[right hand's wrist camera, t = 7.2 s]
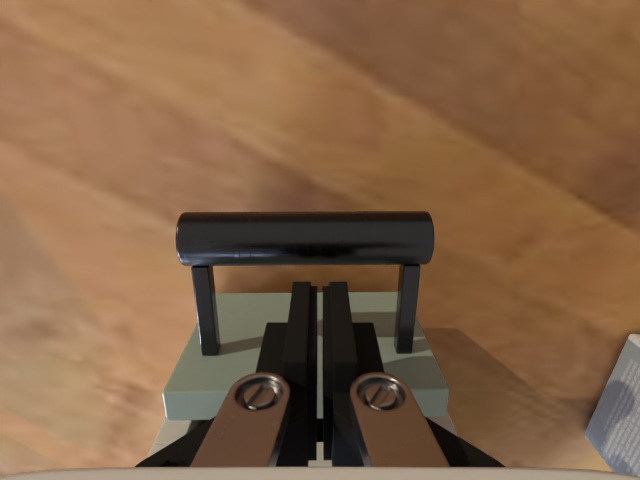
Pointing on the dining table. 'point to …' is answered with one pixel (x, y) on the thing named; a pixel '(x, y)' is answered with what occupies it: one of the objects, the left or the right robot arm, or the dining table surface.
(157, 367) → the dining table surface
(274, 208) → the dining table surface
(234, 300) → the drawer
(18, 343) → the dining table surface
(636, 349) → the hard drive box
